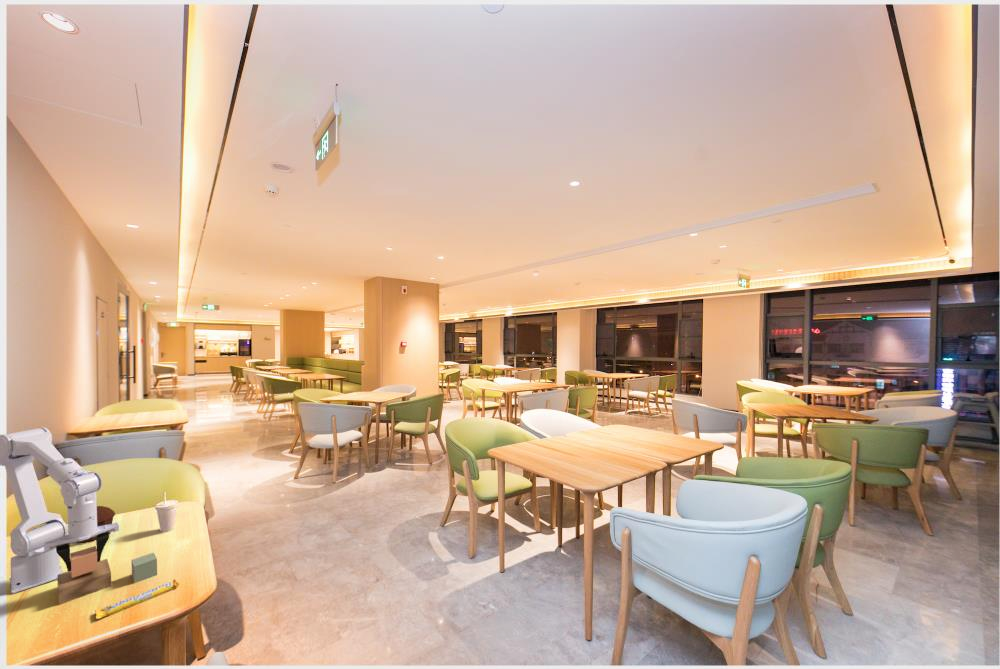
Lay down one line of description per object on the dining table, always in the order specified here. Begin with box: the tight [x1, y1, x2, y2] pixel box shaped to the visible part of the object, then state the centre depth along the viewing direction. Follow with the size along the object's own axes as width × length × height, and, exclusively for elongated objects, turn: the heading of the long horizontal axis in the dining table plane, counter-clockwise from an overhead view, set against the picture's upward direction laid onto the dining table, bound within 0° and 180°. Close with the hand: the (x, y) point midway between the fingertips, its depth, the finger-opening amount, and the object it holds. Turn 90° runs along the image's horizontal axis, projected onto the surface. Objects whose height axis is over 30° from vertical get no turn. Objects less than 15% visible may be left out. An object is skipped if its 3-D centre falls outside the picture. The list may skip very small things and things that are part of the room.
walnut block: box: [57, 558, 112, 605], centre depth 112 cm, size 10×10×4 cm
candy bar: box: [94, 578, 180, 620], centre depth 107 cm, size 17×4×2 cm, turn 140°
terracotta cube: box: [70, 545, 98, 578], centre depth 112 cm, size 5×5×5 cm
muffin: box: [75, 505, 116, 544], centre depth 140 cm, size 12×11×10 cm
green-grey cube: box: [131, 552, 158, 584], centre depth 118 cm, size 5×5×5 cm
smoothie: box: [154, 491, 179, 533], centre depth 144 cm, size 6×6×14 cm
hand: (84, 565), depth 112 cm, fingers closed on terracotta cube, 5 cm apart
